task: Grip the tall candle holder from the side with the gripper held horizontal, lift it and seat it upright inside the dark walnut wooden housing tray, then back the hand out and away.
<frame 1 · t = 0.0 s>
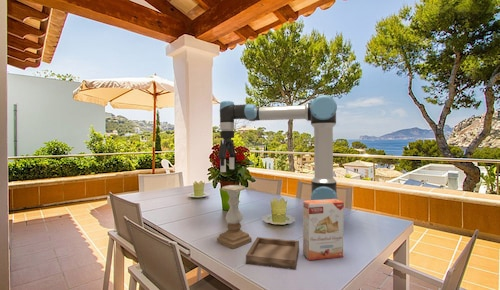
hand: (227, 170, 136), 28 cm above the table, tool pointing down, fingers open, 13 cm apart
housing tray: (274, 255, 97), on the table
candle holder: (234, 242, 110), on the table
cracker box: (323, 256, 96), on the table
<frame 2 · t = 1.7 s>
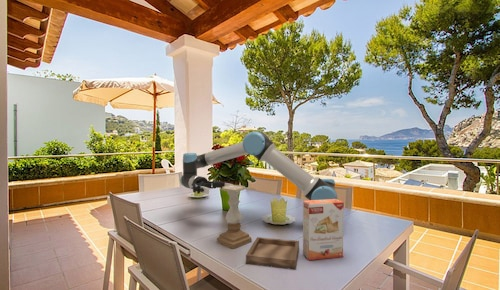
hand: (221, 189, 117), 21 cm above the table, tool horizontal, fingers open, 13 cm apart
nothing on the table moved.
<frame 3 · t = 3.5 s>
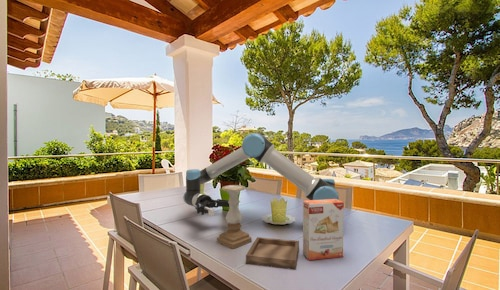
hand: (225, 210, 114), 13 cm above the table, tool horizontal, fingers open, 13 cm apart
nothing on the table moved.
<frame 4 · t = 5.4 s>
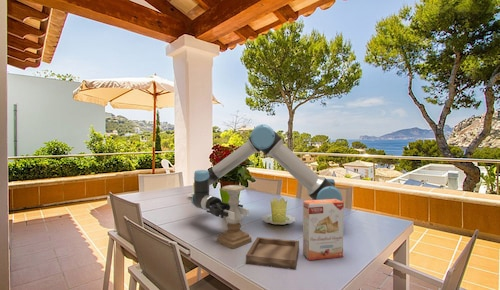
hand: (241, 214, 106), 13 cm above the table, tool horizontal, fingers closed on candle holder, 7 cm apart
candle holder: (234, 242, 110), on the table, touching gripper
everything else where it was.
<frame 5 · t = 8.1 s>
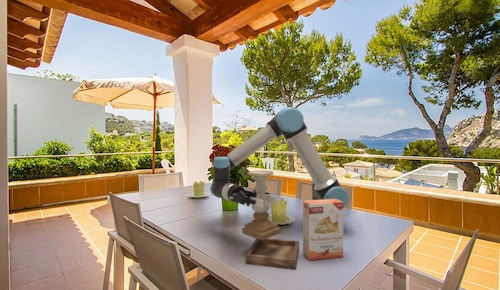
hand: (269, 202, 95), 21 cm above the table, tool horizontal, fingers closed on candle holder, 7 cm apart
candle holder: (261, 233, 99), point 7 cm above the table, touching gripper
everything else where it was.
when the fingers open (15 cm above the table, at t = 10.3 s): candle holder drops 1 cm, resting on housing tray.
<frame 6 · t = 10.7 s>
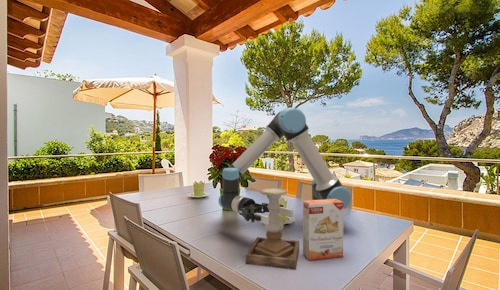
hand: (280, 217, 94), 15 cm above the table, tool horizontal, fingers open, 12 cm apart
candle holder: (274, 253, 97), point 1 cm above the table, touching housing tray
everything else where it was.
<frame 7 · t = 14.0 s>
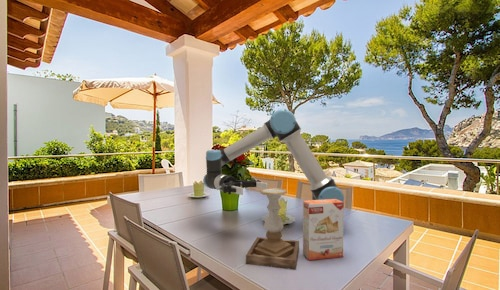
hand: (255, 188, 104), 24 cm above the table, tool horizontal, fingers open, 13 cm apart
nothing on the table moved.
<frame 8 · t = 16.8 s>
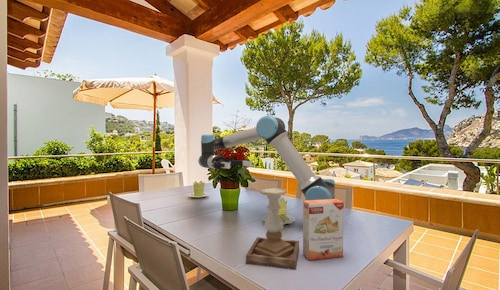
hand: (240, 164, 125), 32 cm above the table, tool horizontal, fingers open, 13 cm apart
nothing on the table moved.
at the end: candle holder 0.0 cm off-centre on the housing tray, point 0.8 cm above the housing tray's base; candle holder tilted 0°; the gripper is holding nothing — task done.
